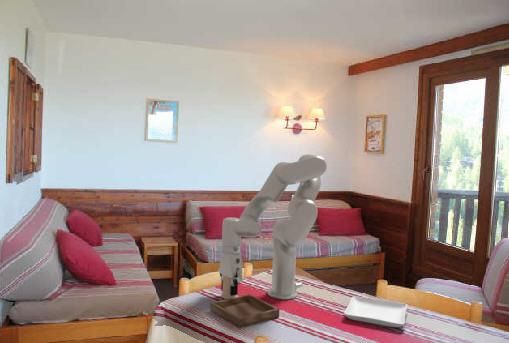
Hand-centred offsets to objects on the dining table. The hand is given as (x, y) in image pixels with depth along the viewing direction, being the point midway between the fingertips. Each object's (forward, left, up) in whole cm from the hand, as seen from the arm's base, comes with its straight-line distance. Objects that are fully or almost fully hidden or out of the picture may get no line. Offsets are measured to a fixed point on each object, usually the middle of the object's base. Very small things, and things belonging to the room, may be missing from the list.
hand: (229, 292), depth 182 cm
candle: (0, 0, -2) cm, 2 cm away
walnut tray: (+5, +17, -2) cm, 18 cm away
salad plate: (-36, +45, -3) cm, 58 cm away
